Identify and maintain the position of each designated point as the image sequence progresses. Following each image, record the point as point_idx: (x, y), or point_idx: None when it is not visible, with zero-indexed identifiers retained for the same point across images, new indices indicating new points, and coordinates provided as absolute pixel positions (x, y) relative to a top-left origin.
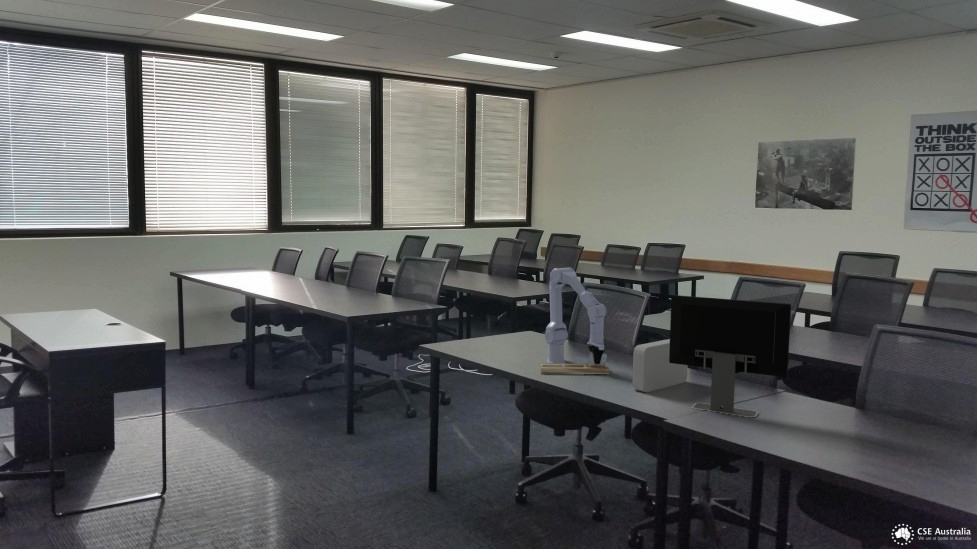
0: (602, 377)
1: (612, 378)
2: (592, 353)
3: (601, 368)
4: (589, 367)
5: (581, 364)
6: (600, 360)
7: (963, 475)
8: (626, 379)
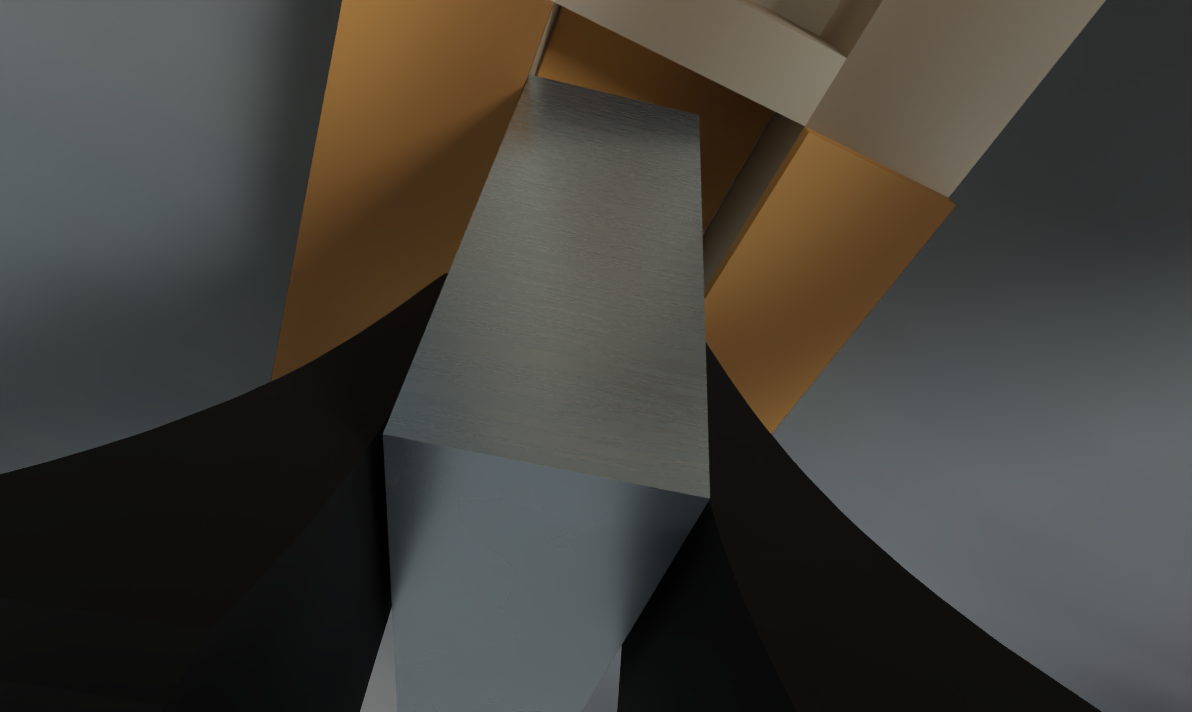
0: (117, 135)
1: (47, 273)
2: (392, 435)
3: (289, 296)
4: (433, 40)
5: (977, 48)
6: None
7: None
8: (5, 426)
